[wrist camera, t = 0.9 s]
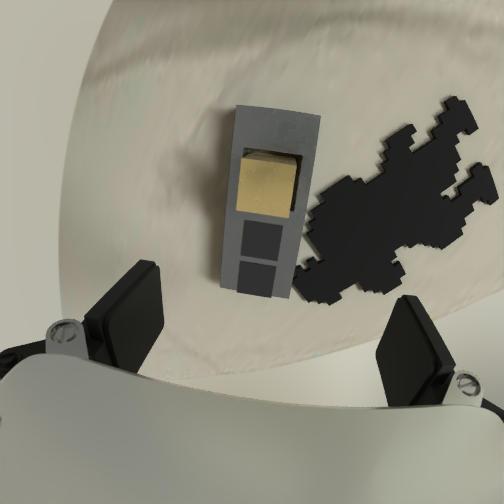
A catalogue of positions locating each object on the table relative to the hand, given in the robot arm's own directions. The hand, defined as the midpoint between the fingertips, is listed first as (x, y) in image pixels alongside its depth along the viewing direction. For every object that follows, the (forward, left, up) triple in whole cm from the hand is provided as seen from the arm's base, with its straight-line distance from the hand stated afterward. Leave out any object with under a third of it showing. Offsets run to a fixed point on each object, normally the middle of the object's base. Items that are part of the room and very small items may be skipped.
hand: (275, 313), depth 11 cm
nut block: (-1, -2, -22) cm, 22 cm away
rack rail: (+2, -2, -22) cm, 22 cm away
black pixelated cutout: (0, +13, -22) cm, 26 cm away
